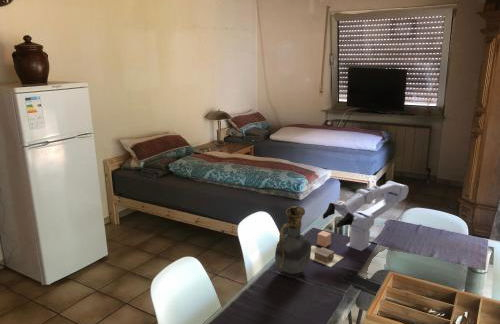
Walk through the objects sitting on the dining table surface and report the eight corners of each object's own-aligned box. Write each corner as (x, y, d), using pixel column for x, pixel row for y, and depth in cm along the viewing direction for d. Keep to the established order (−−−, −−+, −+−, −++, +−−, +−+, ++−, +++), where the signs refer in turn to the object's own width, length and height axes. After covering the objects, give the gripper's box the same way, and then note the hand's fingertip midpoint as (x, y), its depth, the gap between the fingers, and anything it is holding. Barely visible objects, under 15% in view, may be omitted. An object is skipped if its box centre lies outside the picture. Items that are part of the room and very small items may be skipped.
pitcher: (312, 268, 168) (316, 201, 160) (291, 290, 153) (294, 217, 145) (289, 261, 174) (292, 195, 166) (266, 281, 159) (268, 210, 150)
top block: (322, 242, 191) (322, 230, 190) (330, 245, 188) (331, 233, 187) (317, 245, 188) (317, 233, 186) (325, 248, 185) (326, 236, 183)
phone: (350, 272, 164) (386, 284, 156) (350, 274, 165) (386, 287, 156) (342, 280, 158) (380, 294, 150) (342, 283, 159) (379, 297, 150)
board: (312, 246, 187) (313, 245, 187) (343, 258, 177) (343, 257, 176) (299, 255, 179) (299, 254, 179) (330, 268, 169) (330, 266, 168)
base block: (321, 253, 180) (322, 247, 179) (333, 257, 176) (334, 251, 175) (314, 258, 175) (314, 252, 175) (326, 263, 171) (326, 256, 171)
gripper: (338, 191, 180) (317, 206, 173) (365, 206, 170) (344, 222, 164) (338, 203, 184) (317, 218, 177) (364, 219, 174) (343, 235, 168)
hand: (330, 221), depth 171 cm, fingers open, 7 cm apart
